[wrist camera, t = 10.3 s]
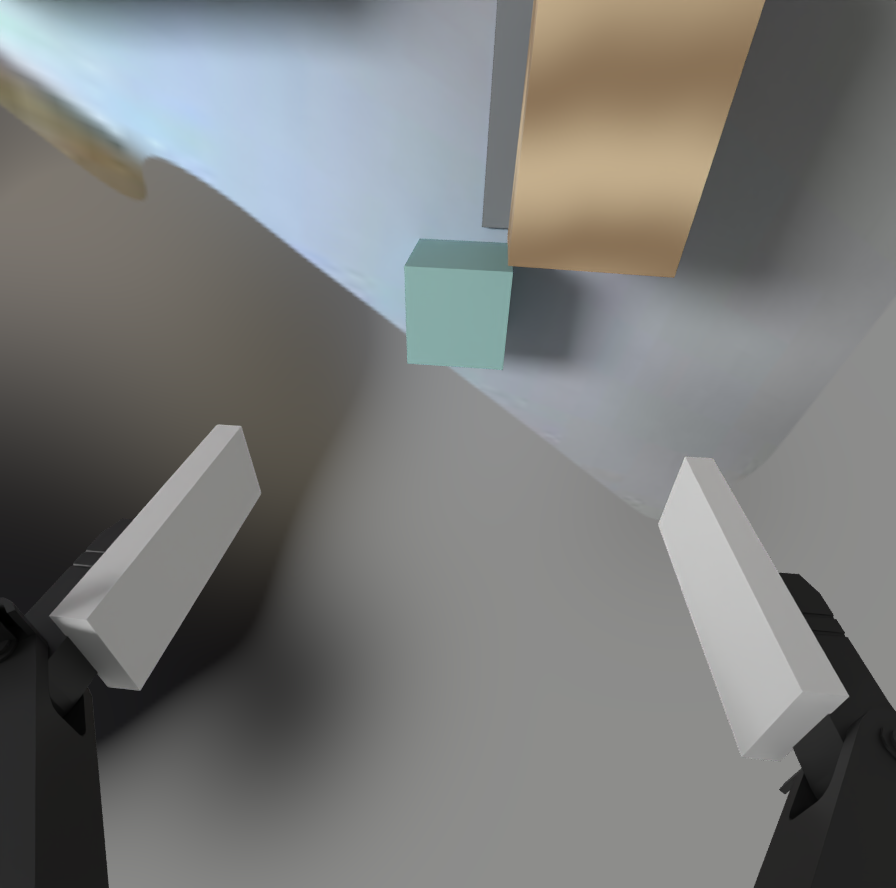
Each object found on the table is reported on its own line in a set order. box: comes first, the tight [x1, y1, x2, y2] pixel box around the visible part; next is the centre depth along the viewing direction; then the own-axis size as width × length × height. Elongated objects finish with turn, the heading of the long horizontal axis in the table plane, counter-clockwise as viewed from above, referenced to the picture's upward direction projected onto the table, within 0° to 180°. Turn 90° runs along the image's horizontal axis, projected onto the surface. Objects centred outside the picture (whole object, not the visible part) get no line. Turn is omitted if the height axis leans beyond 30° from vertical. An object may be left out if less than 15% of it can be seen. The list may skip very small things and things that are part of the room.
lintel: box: [508, 0, 765, 278], centre depth 18 cm, size 14×7×5 cm, turn 178°
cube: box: [404, 239, 513, 370], centre depth 30 cm, size 6×6×6 cm
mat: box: [482, 0, 534, 228], centre depth 25 cm, size 16×10×1 cm, turn 178°
